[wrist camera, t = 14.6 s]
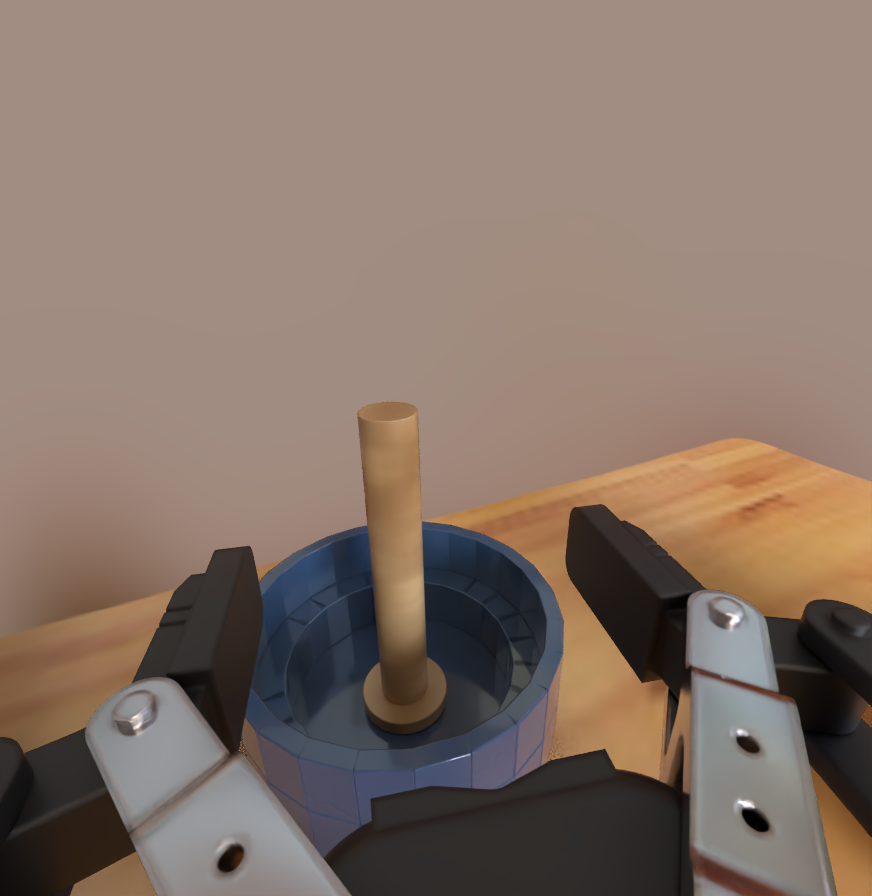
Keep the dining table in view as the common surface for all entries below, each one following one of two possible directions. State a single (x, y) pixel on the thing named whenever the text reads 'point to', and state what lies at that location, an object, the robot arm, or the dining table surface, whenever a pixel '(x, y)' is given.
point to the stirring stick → (397, 573)
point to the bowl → (356, 652)
